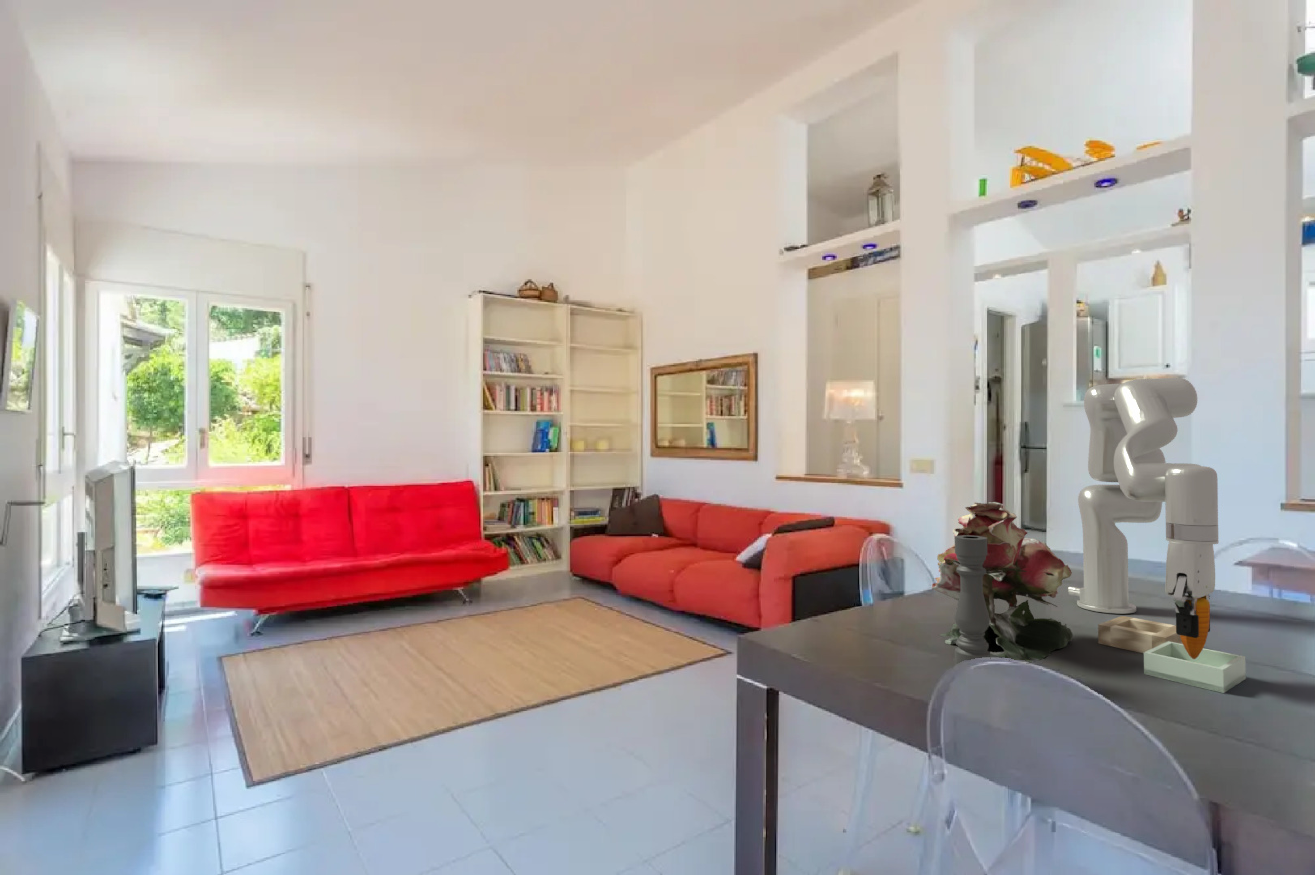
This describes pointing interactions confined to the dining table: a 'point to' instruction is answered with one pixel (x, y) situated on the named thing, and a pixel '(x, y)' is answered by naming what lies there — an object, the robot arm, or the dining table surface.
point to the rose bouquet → (1009, 583)
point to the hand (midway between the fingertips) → (1193, 632)
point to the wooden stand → (1136, 634)
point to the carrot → (1197, 644)
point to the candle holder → (971, 598)
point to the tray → (1195, 667)
